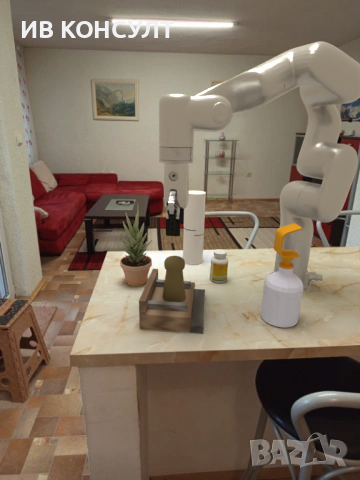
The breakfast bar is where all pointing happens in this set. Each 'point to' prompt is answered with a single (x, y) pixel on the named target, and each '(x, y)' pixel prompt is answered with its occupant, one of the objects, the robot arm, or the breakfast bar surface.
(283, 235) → the soap bottle
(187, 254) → the cylindrical container
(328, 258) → the breakfast bar surface
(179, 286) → the olive rounded upright piece
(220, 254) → the supplement bottle
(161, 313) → the loading dock
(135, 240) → the potted plant
